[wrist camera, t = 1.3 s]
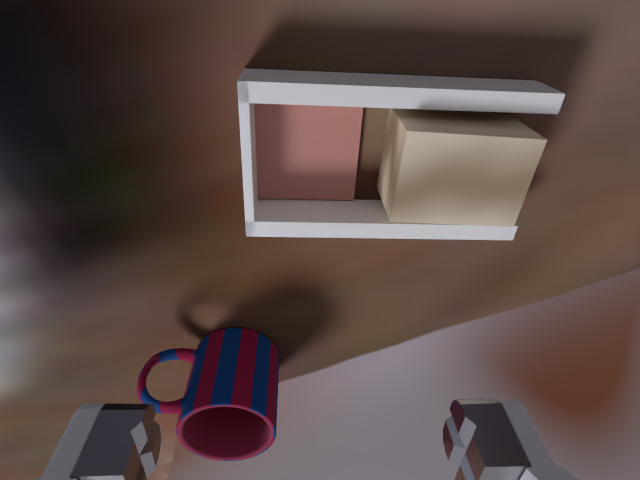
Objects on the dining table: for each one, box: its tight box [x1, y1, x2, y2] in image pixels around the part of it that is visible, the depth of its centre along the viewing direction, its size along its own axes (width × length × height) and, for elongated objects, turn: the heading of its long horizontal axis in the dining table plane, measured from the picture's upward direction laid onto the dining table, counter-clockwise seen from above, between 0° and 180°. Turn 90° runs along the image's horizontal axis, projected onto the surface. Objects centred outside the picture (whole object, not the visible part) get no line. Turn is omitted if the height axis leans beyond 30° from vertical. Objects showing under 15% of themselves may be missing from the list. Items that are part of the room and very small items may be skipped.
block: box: [377, 108, 547, 227], centre depth 23 cm, size 5×7×4 cm
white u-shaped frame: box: [237, 68, 565, 240], centre depth 23 cm, size 9×16×3 cm, turn 87°
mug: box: [137, 328, 279, 461], centre depth 30 cm, size 7×10×7 cm
